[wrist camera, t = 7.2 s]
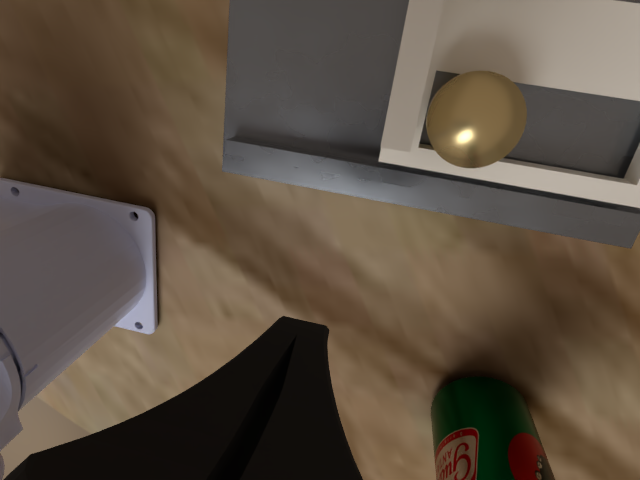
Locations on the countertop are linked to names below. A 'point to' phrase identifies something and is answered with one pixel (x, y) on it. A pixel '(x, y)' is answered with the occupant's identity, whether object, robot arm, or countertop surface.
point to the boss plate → (438, 130)
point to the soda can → (485, 433)
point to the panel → (516, 76)
